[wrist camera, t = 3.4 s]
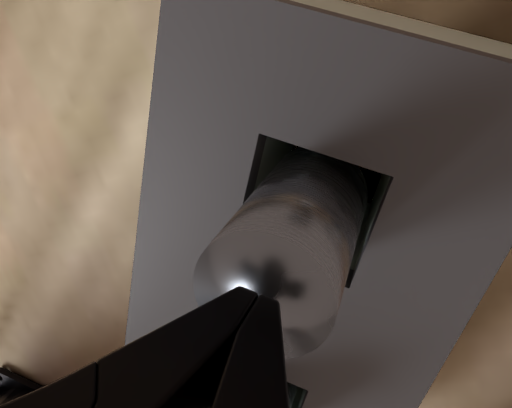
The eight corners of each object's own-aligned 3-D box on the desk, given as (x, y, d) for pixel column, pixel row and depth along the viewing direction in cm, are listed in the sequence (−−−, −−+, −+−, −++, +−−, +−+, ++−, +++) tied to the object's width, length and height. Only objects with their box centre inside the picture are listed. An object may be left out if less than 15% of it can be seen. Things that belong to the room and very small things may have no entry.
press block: (179, 340, 25) (115, 432, 20) (246, -25, 16) (164, -30, 11) (359, 416, 23) (340, 540, 18) (541, 51, 15) (603, 88, 9)
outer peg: (260, 218, 15) (183, 325, 10) (282, 131, 14) (205, 210, 9) (349, 250, 14) (313, 379, 10) (382, 164, 13) (358, 266, 8)
